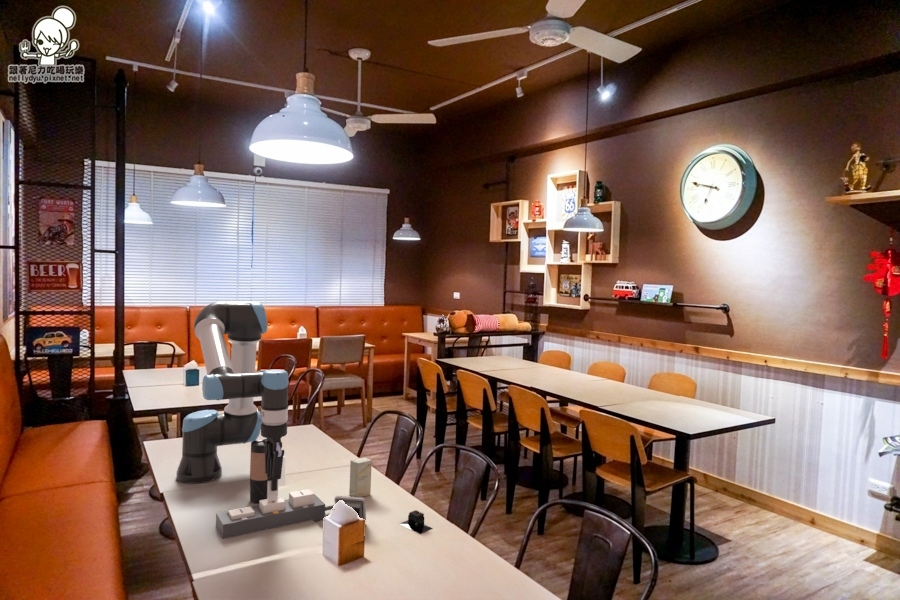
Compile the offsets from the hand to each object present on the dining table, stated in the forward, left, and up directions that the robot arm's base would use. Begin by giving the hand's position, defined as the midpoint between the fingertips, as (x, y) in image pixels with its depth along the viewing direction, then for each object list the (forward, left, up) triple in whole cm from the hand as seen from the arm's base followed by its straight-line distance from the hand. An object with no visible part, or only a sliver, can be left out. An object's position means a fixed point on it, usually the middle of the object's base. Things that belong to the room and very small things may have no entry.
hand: (272, 500), depth 173 cm
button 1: (0, -9, -7) cm, 11 cm away
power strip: (0, +3, -8) cm, 8 cm away
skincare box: (-9, +33, -8) cm, 35 cm away
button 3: (0, +9, -5) cm, 10 cm away
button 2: (0, 0, -5) cm, 5 cm away
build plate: (+21, +38, -8) cm, 44 cm away
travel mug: (-18, +2, -8) cm, 20 cm away
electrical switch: (+12, +20, -8) cm, 25 cm away
